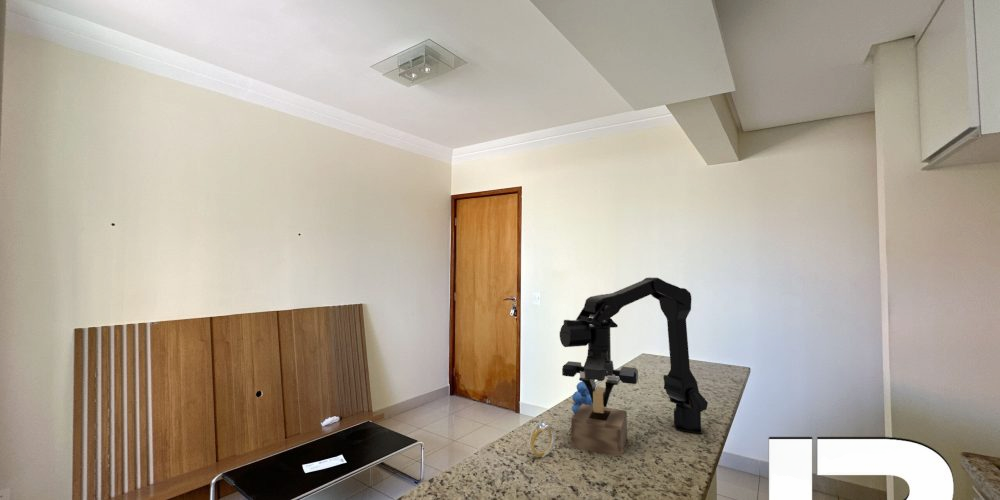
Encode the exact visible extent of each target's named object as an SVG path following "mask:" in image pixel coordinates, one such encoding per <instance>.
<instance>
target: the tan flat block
mask: <svg viewBox="0 0 1000 500" xmlns="http://www.w3.org/2000/svg"><path fill="white" fill-rule="evenodd" d="M605 389H606V387H601V386H596V388H595V390H594V391H593V412H596V413H604V411H605V409H606V408H608V407H607V406H608V405H607V406H606V407H605V405H604V399H605Z"/></svg>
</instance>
